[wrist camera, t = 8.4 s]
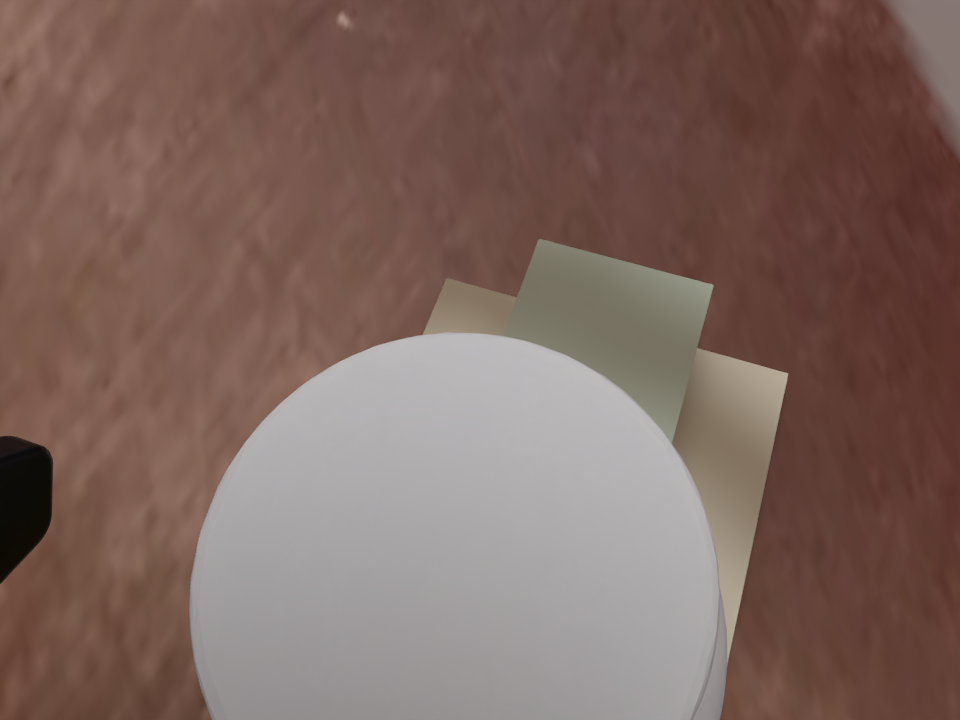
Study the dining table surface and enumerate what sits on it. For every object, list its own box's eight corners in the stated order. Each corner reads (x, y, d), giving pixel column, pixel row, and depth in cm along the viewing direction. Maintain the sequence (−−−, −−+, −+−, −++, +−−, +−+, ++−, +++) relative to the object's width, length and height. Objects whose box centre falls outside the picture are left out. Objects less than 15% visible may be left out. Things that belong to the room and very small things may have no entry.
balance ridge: (581, 1302, 14) (603, 1491, 11) (127, 1076, 16) (11, 1173, 12) (776, 389, 21) (829, 316, 18) (449, 296, 23) (436, 211, 19)
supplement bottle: (341, 536, 16) (129, 279, 7) (618, 515, 16) (740, 229, 7) (339, 858, 14) (22, 1052, 5) (663, 835, 14) (922, 987, 5)
